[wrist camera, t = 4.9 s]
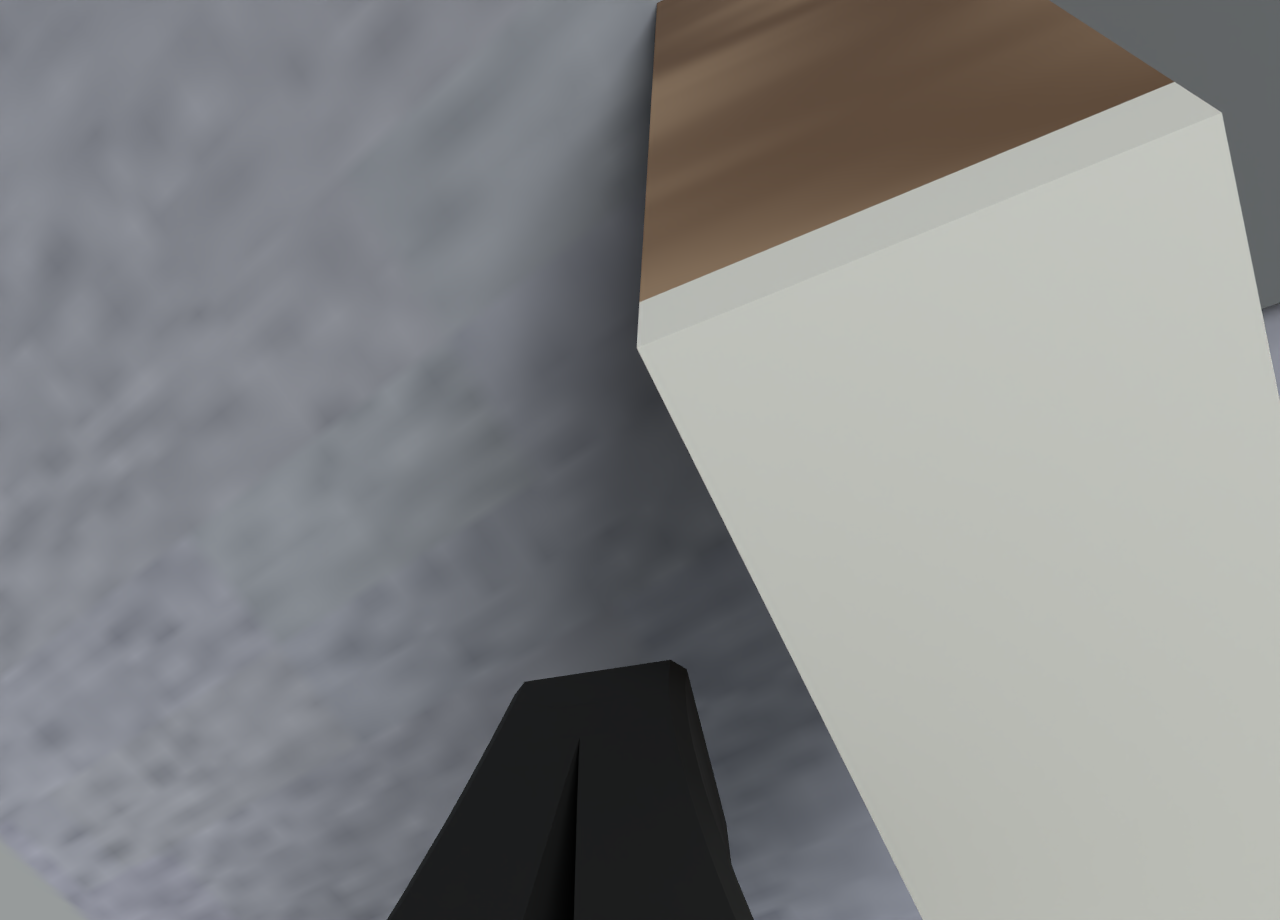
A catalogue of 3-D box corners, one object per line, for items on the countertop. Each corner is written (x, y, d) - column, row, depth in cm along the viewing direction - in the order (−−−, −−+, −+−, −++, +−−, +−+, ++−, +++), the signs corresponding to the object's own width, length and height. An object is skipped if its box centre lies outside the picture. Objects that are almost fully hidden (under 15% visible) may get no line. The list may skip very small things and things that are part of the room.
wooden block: (864, 494, 18) (1031, 1137, 10) (657, 3, 15) (638, 347, 6) (1053, 427, 18) (1410, 1056, 9) (886, -107, 14) (1220, 112, 5)
